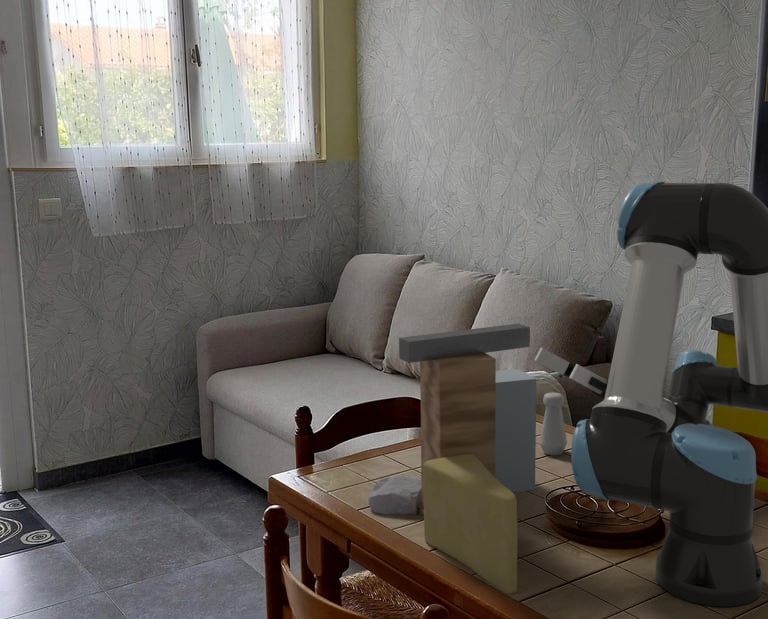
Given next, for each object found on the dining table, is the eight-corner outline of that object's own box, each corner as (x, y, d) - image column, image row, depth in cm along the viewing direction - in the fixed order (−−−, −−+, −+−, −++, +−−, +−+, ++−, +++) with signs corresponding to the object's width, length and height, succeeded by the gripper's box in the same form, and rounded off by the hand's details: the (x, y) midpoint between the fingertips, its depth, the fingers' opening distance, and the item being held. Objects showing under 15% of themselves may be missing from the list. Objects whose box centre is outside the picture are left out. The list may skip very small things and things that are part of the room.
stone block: (367, 523, 165) (420, 516, 163) (362, 498, 165) (415, 490, 162) (381, 500, 177) (431, 493, 174) (376, 476, 176) (426, 469, 174)
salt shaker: (570, 450, 195) (572, 392, 193) (560, 458, 191) (561, 399, 188) (545, 446, 199) (546, 388, 196) (534, 454, 194) (535, 395, 191)
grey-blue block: (535, 489, 174) (536, 378, 170) (467, 499, 170) (466, 385, 166) (517, 475, 182) (518, 368, 178) (451, 484, 178) (451, 375, 174)
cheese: (542, 589, 136) (542, 494, 134) (484, 602, 133) (484, 505, 130) (474, 532, 157) (473, 449, 154) (422, 542, 153) (421, 458, 150)
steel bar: (529, 346, 161) (529, 326, 160) (409, 362, 151) (408, 341, 150) (518, 343, 164) (518, 323, 163) (399, 358, 154) (399, 337, 153)
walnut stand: (498, 527, 157) (499, 359, 152) (439, 536, 154) (437, 364, 149) (474, 503, 168) (474, 345, 162) (418, 511, 165) (416, 350, 159)
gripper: (673, 448, 157) (579, 399, 150) (600, 409, 180) (516, 365, 173) (694, 410, 157) (600, 359, 150) (618, 375, 180) (534, 330, 173)
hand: (555, 362), depth 162 cm, fingers open, 13 cm apart
